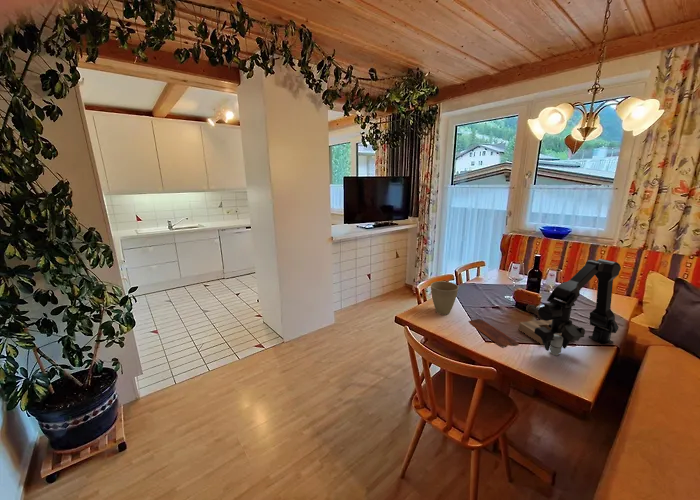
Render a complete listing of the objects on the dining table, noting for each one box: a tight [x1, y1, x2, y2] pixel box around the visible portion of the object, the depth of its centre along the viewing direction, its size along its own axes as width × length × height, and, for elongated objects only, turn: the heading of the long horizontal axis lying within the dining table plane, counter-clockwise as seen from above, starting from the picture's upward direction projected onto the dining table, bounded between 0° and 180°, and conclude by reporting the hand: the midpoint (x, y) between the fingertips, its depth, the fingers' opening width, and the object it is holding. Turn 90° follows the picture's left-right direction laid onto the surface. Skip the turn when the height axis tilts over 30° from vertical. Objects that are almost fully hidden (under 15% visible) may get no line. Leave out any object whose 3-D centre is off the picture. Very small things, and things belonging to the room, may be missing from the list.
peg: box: [549, 335, 563, 357], centre depth 124 cm, size 4×4×8 cm
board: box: [518, 319, 562, 346], centre depth 139 cm, size 18×14×4 cm
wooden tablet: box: [468, 318, 519, 348], centre depth 143 cm, size 27×10×2 cm, turn 13°
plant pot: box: [430, 280, 460, 316], centre depth 163 cm, size 15×15×16 cm
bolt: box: [525, 303, 543, 320], centre depth 161 cm, size 6×5×15 cm
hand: (555, 349), depth 124 cm, fingers open, 8 cm apart
